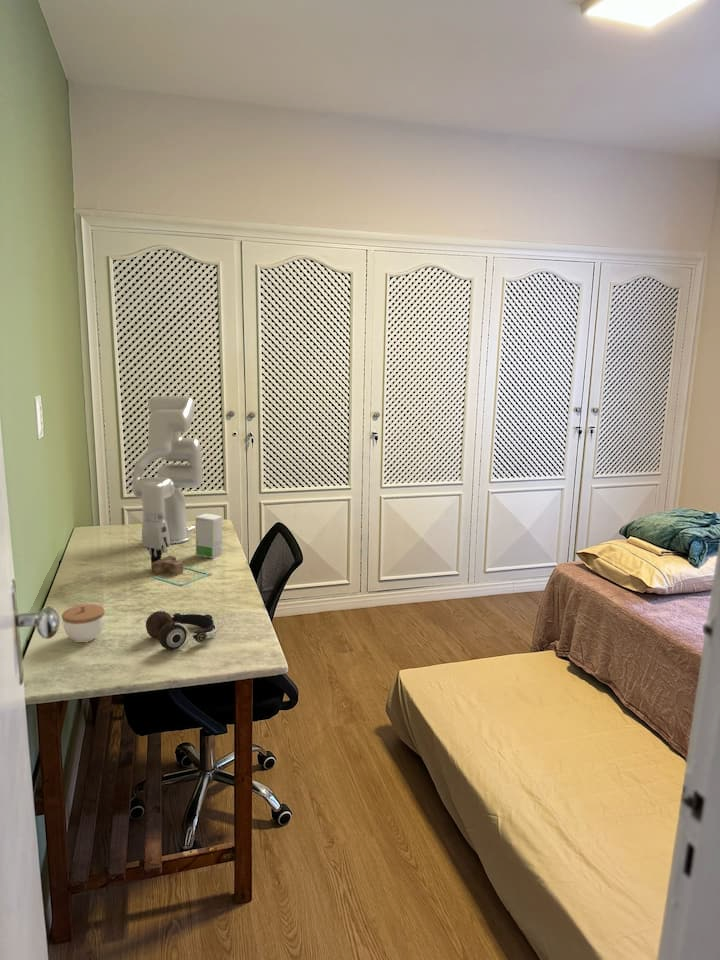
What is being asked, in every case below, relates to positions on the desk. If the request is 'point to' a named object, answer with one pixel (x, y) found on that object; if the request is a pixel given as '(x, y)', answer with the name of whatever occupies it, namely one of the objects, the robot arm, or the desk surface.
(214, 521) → the skincare box
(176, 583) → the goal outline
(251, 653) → the desk surface
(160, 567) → the tee block
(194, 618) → the headset
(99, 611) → the lidded jar
